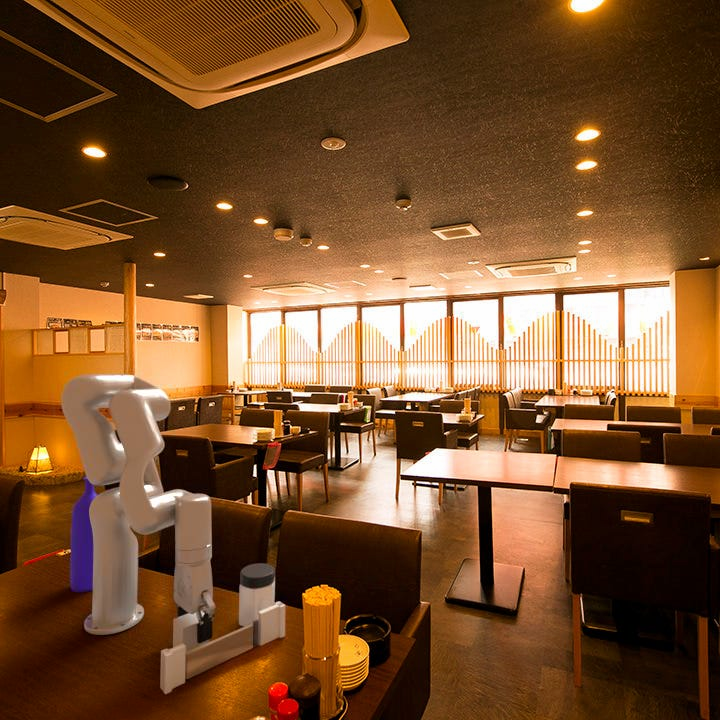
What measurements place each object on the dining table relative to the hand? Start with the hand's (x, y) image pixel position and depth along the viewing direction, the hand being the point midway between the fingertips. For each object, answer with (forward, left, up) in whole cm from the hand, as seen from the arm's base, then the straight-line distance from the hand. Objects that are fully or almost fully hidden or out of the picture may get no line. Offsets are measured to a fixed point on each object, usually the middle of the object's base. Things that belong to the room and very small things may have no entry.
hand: (194, 631), depth 100 cm
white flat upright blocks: (+9, +3, -3) cm, 10 cm away
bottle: (-47, -9, -3) cm, 48 cm away
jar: (0, +16, -4) cm, 16 cm away
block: (-1, 0, -3) cm, 3 cm away
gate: (+9, +2, -3) cm, 10 cm away
